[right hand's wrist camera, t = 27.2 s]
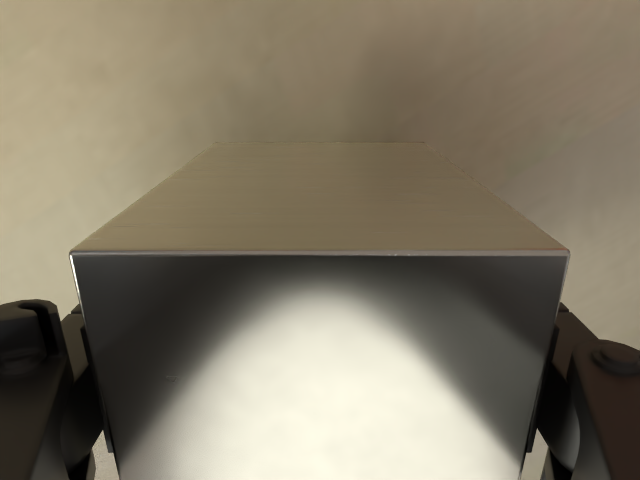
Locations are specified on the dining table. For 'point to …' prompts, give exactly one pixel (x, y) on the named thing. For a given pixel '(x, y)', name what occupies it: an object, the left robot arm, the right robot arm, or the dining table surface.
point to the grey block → (319, 318)
